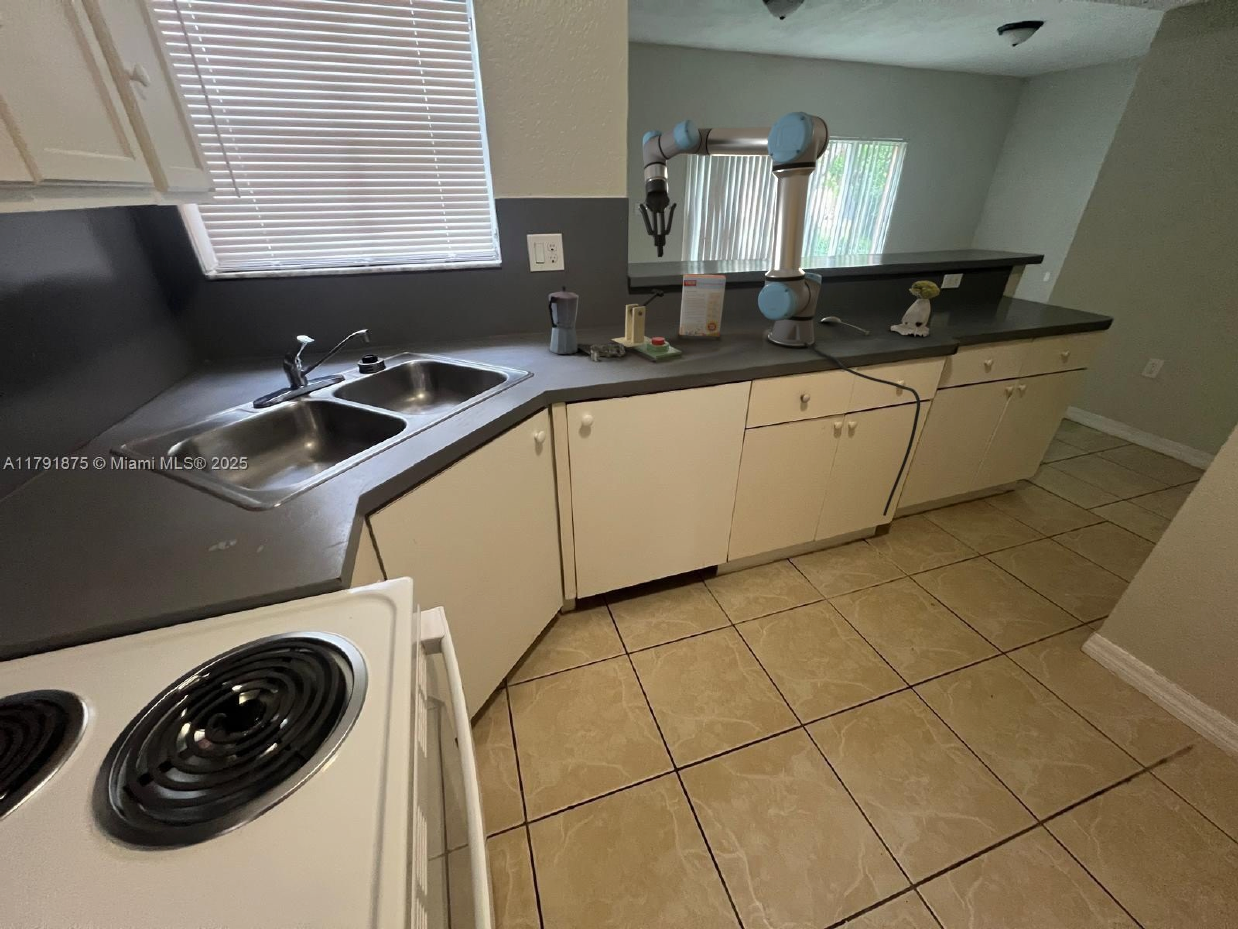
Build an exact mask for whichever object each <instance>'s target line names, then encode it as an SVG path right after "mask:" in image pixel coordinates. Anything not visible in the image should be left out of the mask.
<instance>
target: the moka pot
mask: <svg viewBox="0 0 1238 929" xmlns="http://www.w3.org/2000/svg"><path fill="white" fill-rule="evenodd" d="M579 296H580V295H579V294H576V293H575V292H568V291H567V286H565V285H561V291H557V292H552V293H550V294H548V303H547V307H548V312H549V317H550V321H551V337H550V344H549V345H550V346H549V350H550V352H551V353H553V354H559V355H570V354H575V353H577V352H578V350H579V349H578V341H577V331H576V321H577V314H578V306H579V305H578V304H579Z"/></svg>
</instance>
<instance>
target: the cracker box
mask: <svg viewBox="0 0 1238 929" xmlns="http://www.w3.org/2000/svg"><path fill="white" fill-rule="evenodd" d="M726 282H727V277H726V276H725V275H724V274H699V273H698V274H697V273H695V274H693V273H691V274H689V273H685V274H683V282H682V293H681V305H680V321H679V335H680V336H692V337H693V336H695V337H718V338H719V337H720V334H721V326H722V317H723V309H724V299H725V290H726Z"/></svg>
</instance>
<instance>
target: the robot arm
mask: <svg viewBox="0 0 1238 929" xmlns="http://www.w3.org/2000/svg"><path fill="white" fill-rule="evenodd" d="M830 139H831V132H830V128H829V125H828V123H827V122H826V120H824V119H823V118H822V117H820V116H817V115H813V114H808V113H807V112H805V111H791V112H789V113H786V114H784V115H782V116H781V117H780V118H778V120H776V122H775V123H774V124H773V126H755V127H716V128H715V127H714V128H713V127H711V128H709V127H708V128H706V127H705V128H704V127H703V128H699V127H698V126H697V125H696V123H695V122H694V121H693V120H692V119H686V120H683V121H681V122H678V123H677V124H676V125H674V126H673V127H671V128H669V129H668V130H666V131H665V132H663V131H661V130H660V129H659V130H658V129H654V130H652V131H648V132H646V133H645V134H644V135H643V138H642V157H643V170H644V171H643V174H644V184H645V186H644V188H645V192H644V193H645V199H644V202H643V203H640V204H639V206H638V211H639V212H640V213H641V216H642V219H643V222H644V226H645V229H646V233H647V235H648V236H651V237H652V238H653V246H654V247H656V254H657V258H663V256H664V254H665V253H664V247H665V246H666V244H667V240H666V239H667V238H666V236H669V235H670V233H671V230H672V226H673V225H672V224H673V219H674V215H675V214H674V213H675V210H676V208H677V205H678V204H677V203H676V202H674V203H673V202H672V201H671V199H670V196H669V186H668V184H669V183H668V171H667V170H668V169H667V167H668V166H667V161H669V160H672V159H674V158H675V157H677V156H679V155H690V156H691V155H692V156H699V157H706V156H727V157H728V156H732V157H736V156H737V157H770V158H771V160H772V164H771V165H772V168H771V169H772V170H771V174H772V175H773V176H774V178H776V190H775V191H776V192H775V205H774V219H773V235H772V247H771V248H772V250H771V264H770V269H769V271H767V272H766V273H765V276H764V286H763V288H762V289H761V290H760V291H759V294H758V299H757V304H758V307H759V310H760V312H761V314H763V316H764V317H765V318H767V319H768V320H770V321H774V323H773V325H772V327H771V329H770V331H769V334H768V337H767V340H768V342H770V343H772V344H773V345H776V346H781V347H785V348H795V349H802V348H808V349H810V350H811V351H813V352H814V353H816V354H817V355H820V356H822V357H825V358H827V359H830V360H831V361H833V362H835V363H836V364H838V365H839V366H840V368H841V369H843V370H845V371H846V372H848V373H850V374H852V375H855V376H857V377H860V378H864V379H866V380H870V381H873V382H877V383H881V384H885V385H890V386H893V387H896V388H898V389H902V390H905V391H909V392H911V393H912V394H913V396H914V398H915V401H916V409H915V414H914V420H913V425H912V429H911V434H910V438H909V442H908V445H907V449H906V451H905V454H904V458H903V461H902V463H901V466H900V468H899V471H898V473H897V476H896V479H895V481H894V484H893V486H892V489H891V491H890V494H889V496H888V499H887V502H886V505H885V507H884V510H883V513H882V516H883V517H886V516H887V514H888V510H889V508H890V504H891V502H892V499H893V497H894V494H895V492H896V489H897V487H898V484H899V483H900V479H901V477H902V475H903V472H904V469H905V467H906V464H907V462H908V458H909V456H910V453H911V449H912V447H913V444H914V439H915V436H916V431H917V428H918V422H919V416H920V411H921V399H920V395H919V394H918V392H917V391H916V390H915V389H914V388H912V387H909V386H905V385H903V384H900V383H896V382H893V381H888V380H885V379H881V378H876V377H872V376H869V375H866V374H863V373H860V372H857V371H855V370H852V369H850V368H849V367H847V366H845V365H844V364H843V363H842V362H841V361H840V360H839V359H838V358H837V357H834V356H832V355H830V354H826V353H824V352H821V351H820V350H817V349H816V348H814V347H813V345H814V342H815V333H814V332H815V331H814V316H815V313H816V307H817V304H818V299H819V296H820V295H819V294H820V290H821V287H822V280H823V279H822V278H823V277H822V275H820V273H819V274H818V273H813V272H805V271H804V270H803V269H802V267H801V264H802V254H803V242H804V234H805V222H806V210H807V202H808V192H809V182H810V181H809V180H810V176H811V175H812V173H813V172H814V171H815V170H816V168H817V166H816V165H817V161H818V160H819V159H820V158H821V157H822V156H823V155H824V154H825V152H826V151H827V148H828V146H829V144H830ZM667 208H668V209H669V212H668V216H667V223H666V221H665V220H666V218H665V217H666V216H665V211H666V209H667ZM647 209H648V210H649V211H650V213H651V220H650V217H649V214H648V210H647ZM658 217H659V224H658ZM658 225H659V227H658ZM659 231H660V232H659Z"/></svg>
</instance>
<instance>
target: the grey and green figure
mask: <svg viewBox="0 0 1238 929" xmlns="http://www.w3.org/2000/svg"><path fill="white" fill-rule="evenodd" d="M908 291H909V292H910V294H912V295H913V296H916V297H917V299H916V300H915V301H914V302H913V303H912V304H911V306H910V307H909V308H908V309H907V310H906V312H905V314H904V315H903V317H902V318H901V324H898V325H897V324H896V325H895V324H894V325H891V326H890V331H895V332H897V333H899V334H900V335H902V336H908V335H911V334H912V335H914V336H916V335H919V336H920V337H922V335H923V337H927V336H928V335H929V332H930V329H929V327H927V324H928V321H929V317H930V314H931V304H930V299H932V298H935V297H937V296H939V295H940V292H941V289H940V288H939V287H938V285H937V284H936V283H934V282H932V281H930V280H918V281H915V282H913V283H912V285H911V288H908Z"/></svg>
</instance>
